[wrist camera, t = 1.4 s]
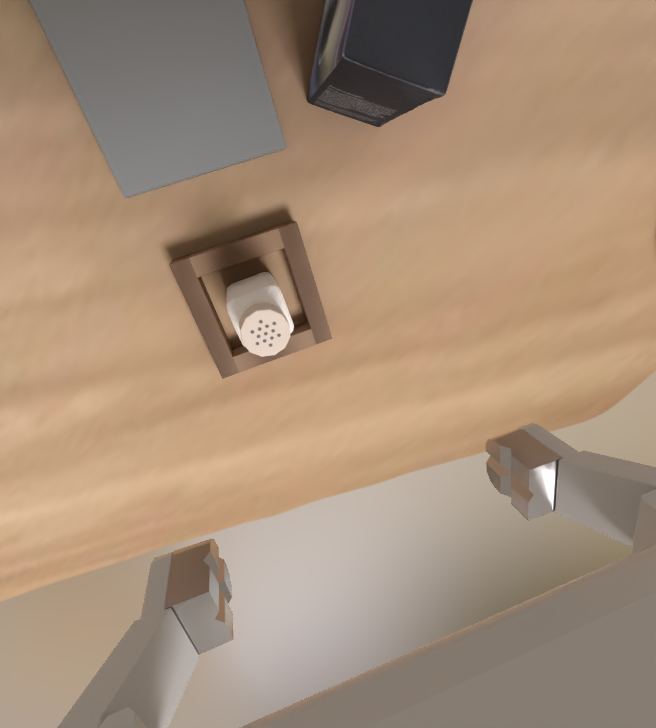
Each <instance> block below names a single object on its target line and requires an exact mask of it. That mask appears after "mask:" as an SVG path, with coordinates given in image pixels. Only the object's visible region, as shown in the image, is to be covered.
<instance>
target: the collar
mask: <svg viewBox="0 0 656 728" xmlns="http://www.w3.org/2000/svg"><path fill="white" fill-rule="evenodd" d="M280 249H283V252H284V255H285V258H286V261H287V264H288V267H289V270H290V273H291V276H292V279H293V282H294V285H295V288H296V291H297V294H298V297H299V300H300V303H301V306H302V309H303V312H304V315H305V318H306V321H307V322H306V323H303V324H301V325H298V326H295V327H294V330H293V332H292V333H291V334H290V336H291V337H290V339H289V341H288V343H287V345H286V347H285V348H284V349H283V350H281V351H280V352H278V353H277V354H276V355H271V356H264V357H261V356H259V355H256V354H253V353H251V352H249V351H248V349H247V348H246V347H245V346H243V345H242V346H239V347H237V348H234V349H232V347H231V345H230V342H229V340H228V338H227V335H226V333H225V331H224V329H223V326H222V324H221V322H220V319H219V317H218V315H217V313H216V310H215V308H214V306H213V303H212V301H211V299H210V297H209V294H208V292H207V290H206V288H205V285H204V283H203V281H202V278H201V276H203V275H206V274H209V273H212V272H215V271H218V270H221V269H224V268H227V267H230V266H233V265H236V264H238V263H241V262H244V261H247V260H250V259H253V258H256V257H259V256H262V255H265V254H268V253H271V252H274V251H277V250H280ZM169 266H170V268H171V270H172V272H173V274H174V276H175V278H176V280H177V283H178V285H179V287H180V289H181V291H182V293H183V295H184V297H185V300H186V302H187V304H188V306H189V308H190V310H191V312H192V315H193V317H194V319H195V321H196V323H197V325H198V327H199V329H200V332H201V334H202V336H203V338H204V340H205V342H206V344H207V346H208V349H209V351H210V353H211V355H212V357H213V359H214V361H215V364H216V366H217V368H218V370H219V372H220V374H221V376H222V378H226V377H228V376H231V375H234V374H237V373H239V372H242V371H245V370H247V369H250V368H253V367H256V366H258V365H261V364H264V363H267V362H269V361H272V360H275V359H278V358H280V357H283V356H286V355H288V354H291V353H294V352H297V351H299V350H302V349H305V348H308V347H310V346H313V345H316V344H319V343H321V342H324V341H327V340H329V339H332V336H331V333H330V330H329V326H328V323H327V320H326V317H325V313H324V310H323V307H322V303H321V300H320V297H319V294H318V290H317V287H316V284H315V280H314V277H313V274H312V271H311V267H310V264H309V261H308V257H307V254H306V251H305V248H304V244H303V241H302V238H301V234H300V231H299V228H298V225H297V222H295V221H291V222H288V223H285V224H282V225H279V226H276V227H273V228H270V229H267V230H264V231H261V232H258V233H255V234H252V235H249V236H246V237H243V238H240V239H237V240H234V241H231V242H228V243H225V244H222V245H219V246H216V247H212V248H209V249H206V250H203V251H200V252H197V253H194V254H191V255H188V256H185V257H182V258H179V259H176V260H173V261H172V262H171V263H170V264H169Z"/></svg>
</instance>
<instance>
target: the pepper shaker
mask: <svg viewBox="0 0 656 728" xmlns="http://www.w3.org/2000/svg"><path fill="white" fill-rule="evenodd" d="M227 312H228V314H229V316H230V319H231V321H232V323H233V326H234V328H235V330H236V332H237V334H238V336H239V338H240V340H241V342H242V345H243V346H245V347H246V348H247V349H248V351H249V352H251V353H253V354H256V355H259V356H261V357H264V356H271V355H276V354H277V353H278V352H280V351H281V350H283V349H284V348H285V347H286V345H287V343H288V341H289V339H290V337H291V336H290V334H291V333H292V332H293V330H294V324H293V321H292V318H291V316H290V313H289V310H288V308H287V305H286V302H285V300H284V297H283V295H282V292H281V290H280V288H279V286H278V285H277V283H276V281H275V279H274V278H273V276H272V275H271V274H270V273H269V272H262V273H259V274H257V275H254V276H251V277H249V278H246V279H243V280H240V281H238V282H235V283H232V284H230V285H229V286H228V287H227Z"/></svg>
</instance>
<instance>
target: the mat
mask: <svg viewBox="0 0 656 728" xmlns="http://www.w3.org/2000/svg"><path fill="white" fill-rule="evenodd" d="M29 1H30V3H31V5H32V7H33V9H34V11H35V13H36V16H37V18H38V20H39V22H40V24H41V26H42V28H43V30H44V32H45V34H46V36H47V38H48V40H49V42H50V44H51V47H52V49H53V51H54V53H55V55H56V57H57V59H58V61H59V63H60V65H61V67H62V69H63V71H64V73H65V76H66V78H67V80H68V82H69V84H70V86H71V88H72V90H73V92H74V94H75V96H76V98H77V100H78V102H79V104H80V107H81V109H82V111H83V113H84V115H85V117H86V119H87V121H88V123H89V125H90V127H91V129H92V131H93V133H94V135H95V138H96V140H97V142H98V144H99V146H100V148H101V150H102V152H103V154H104V156H105V158H106V160H107V162H108V164H109V166H110V169H111V171H112V173H113V175H114V177H115V179H116V181H117V183H118V185H119V187H120V189H121V191H122V193H123V195H124V198H129V197H132V196H136V195H139V194H142V193H145V192H148V191H152V190H155V189H158V188H161V187H164V186H168V185H171V184H174V183H177V182H180V181H184V180H187V179H190V178H193V177H197V176H200V175H203V174H206V173H209V172H213V171H216V170H219V169H222V168H225V167H229V166H232V165H235V164H238V163H241V162H245V161H248V160H251V159H254V158H258V157H261V156H264V155H267V154H270V153H274V152H277V151H280V150H283V149H285V148H286V145H285V141H284V138H283V135H282V131H281V128H280V124H279V121H278V117H277V114H276V111H275V107H274V104H273V100H272V97H271V93H270V90H269V87H268V83H267V80H266V76H265V73H264V69H263V66H262V63H261V59H260V56H259V52H258V49H257V45H256V42H255V39H254V35H253V32H252V28H251V25H250V21H249V18H248V15H247V11H246V8H245V4H244V1H243V0H29Z"/></svg>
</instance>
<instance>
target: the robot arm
mask: <svg viewBox="0 0 656 728" xmlns="http://www.w3.org/2000/svg"><path fill="white" fill-rule="evenodd" d="M486 452H487V453H489V454H490V455H491V456H490V457H489V459H488V461H487V463H486V465H487V473H488V476H489V478H490V481H491V482H492V484H493V485H494V487H495V488H496V489H497V490H498V491H499V492H500V493H501V494H504V495H507V496H510V497H511V504H512V505H513V506H514V507H515V508H516V509H517V510H518V511H519V512H520V513H521V514H522V515H523V516H524V517H525V518H526V519H527V520H528V521H529V520H531V519H534V518H537V517H539V516H542V515H545V514H548V513H550V512H553V511H555V513H557V514H560V515H562V516H564V517H566V518H569V519H571V520H573V521H575V522H578V523H580V524H582V525H584V526H587V527H589V528H591V529H593V530H595V531H598V532H600V533H602V534H605V535H607V536H609V537H612V538H613V539H616V540H618V541H620V542H622V543H625V544H627V545H629V546H631V553H630V555H629V556H627V557H625V558H623V559H621V560H618V561H616V562H614V563H611V564H609V565H607V566H605V567H602V568H600V569H598V570H595V571H593V572H591V573H589V574H587V575H584V576H582V577H580V578H577V579H575V580H573V581H571V582H569V583H566V584H564V585H561V586H559V587H557V588H555V589H552V590H550V591H548V592H546V593H543V594H541V595H539V596H537V597H534V598H532V599H530V600H528V601H526V602H523V603H521V604H519V605H516V606H514V607H512V608H510V609H507V610H505V611H503V612H501V613H498V614H496V615H494V616H491V617H489V618H487V619H485V620H483V621H480V622H478V623H476V624H473V625H471V626H469V627H467V628H465V629H462V630H460V631H458V632H455V633H453V634H451V635H449V636H446V637H444V638H442V639H439V640H437V641H435V642H433V643H431V644H428V645H426V646H424V647H422V648H419V649H417V650H415V651H412V652H410V653H408V654H405V655H403V656H401V657H399V658H396V659H394V660H392V661H390V662H387V663H385V664H383V665H381V666H378V667H376V668H374V669H371V670H369V671H367V672H365V673H362V674H360V675H358V676H356V677H353V678H351V679H349V680H347V681H344V682H342V683H340V684H338V685H335V686H333V687H331V688H328V689H326V690H324V691H322V692H319V693H317V694H315V695H313V696H310V697H308V698H306V699H304V700H301V701H300V702H297V703H294V704H292V705H290V706H288V707H285V708H283V709H281V710H279V711H276V712H274V713H272V714H270V715H268V716H265V717H263V718H261V719H258V720H256V721H254V722H252V723H249V724H247V725H245V726H242V727H240V728H656V467H652V466H648V465H643V464H639V463H635V462H630V461H626V460H622V459H618V458H613V457H609V456H604V455H600V454H596V453H592V452H587V451H582V452H578V451H577V450H575V449H574V448H572V447H570V446H569V445H568V444H566V443H564V442H563V441H561V440H560V439H559V438H557V437H556V436H554V435H553V434H551V433H550V432H548V431H547V430H545V429H544V428H542V427H541V426H539V425H537V424H534V423H531V424H529V425H526V426H523V427H521V428H518V429H517V430H513V431H510V432H507V433H505V434H502V435H499V436H497V437H494V438H491V439H488V440H487V443H486ZM231 598H232V589H231V582H230V576H229V572H228V569H227V566H226V563H225V561H224V560H223V559H221V558H219V548H218V546H217V544H216V542H215V540H214V539H209V540H206V541H203V542H200V543H197V544H194V545H191V546H188V547H185V548H182V549H179V550H176V551H174V552H172V553H168V554H166V555H162V556H160V557H156V558H154V560H153V561H152V563H151V566H150V572H149V577H148V582H147V587H146V593H145V598H144V604H143V609H142V615H141V619H139V620H137V621H134V623H133V624H132V625H131V627H130V628H129V630H128V631H127V632H126V634H125V635H124V637H123V638H122V639H121V641H120V642H119V643H118V645H117V646H116V647H115V649H114V650H113V652H112V653H111V654H110V656H109V657H108V658H107V660H106V662H105V663H104V664H103V665H102V667H101V668H100V670H99V671H98V672H97V674H96V675H95V677H94V678H93V679H92V681H91V682H90V684H89V685H88V686H87V688H86V689H85V690H84V692H83V693H82V694H81V696H80V697H79V699H78V700H77V701H76V703H75V704H74V706H73V707H72V709H71V710H70V711H69V712H68V714H67V715H66V717H65V718H64V719H63V721H62V722H61V724H60V725H59V726H58V728H168V726H169V724H170V722H171V720H172V717H173V715H174V713H175V711H176V709H177V706H178V704H179V702H180V700H181V697H182V695H183V693H184V691H185V688H186V686H187V684H188V681H189V679H190V677H191V675H192V672H193V670H194V668H195V666H196V664H197V661H198V659H199V654H201V653H204V652H206V651H208V650H211V649H213V648H215V647H218V646H220V645H222V644H224V643H226V642H229V641H231V640H233V614H232V611H231V609H230V607H229V605H228V603H229V601H230V600H231Z"/></svg>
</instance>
